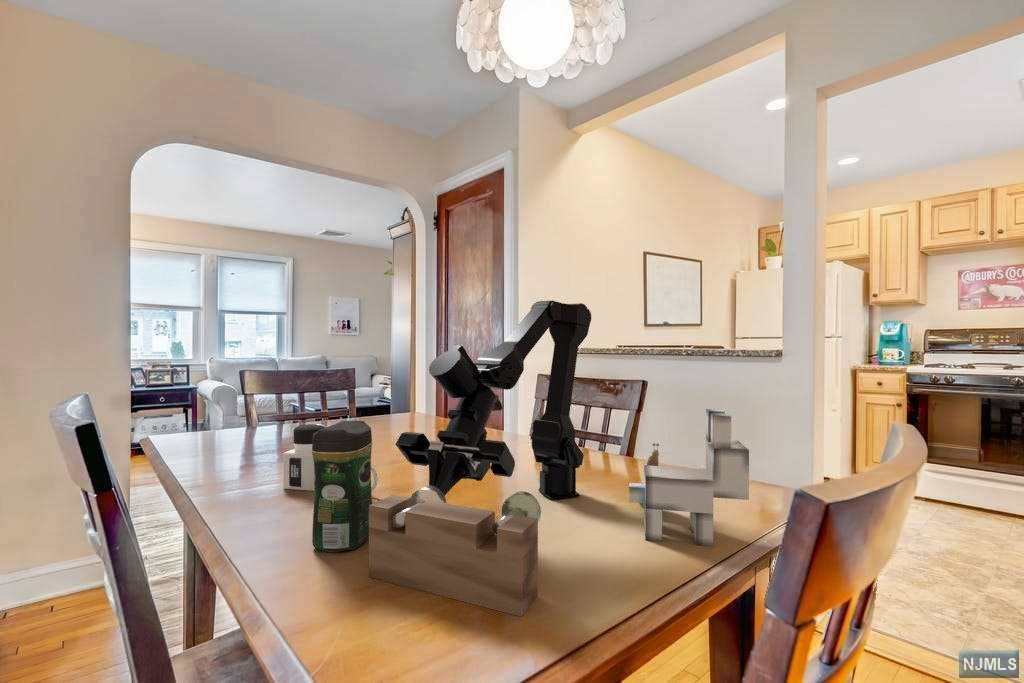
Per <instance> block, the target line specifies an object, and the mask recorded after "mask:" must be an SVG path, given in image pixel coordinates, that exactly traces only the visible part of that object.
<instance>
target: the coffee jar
mask: <svg viewBox="0 0 1024 683" xmlns="http://www.w3.org/2000/svg"><path fill="white" fill-rule="evenodd" d="M325 427H326V428H322V429H320V430H318V432H315V433H314V434H313V436H312V439H313V442H312V455H313V461H314V474H315V476H314V491H313V513H312V535H311V536H312V538H311V540H312V542H311V543H312V546H313V548H315V549H317V550H319V551H320V550H321V551H322V552H326V553H339V552H343V551H349V550H354V549H356V548H358V547H360V546H361V545H362V544H363V543H364V542H365V541H367V539H369V505H371V504H373V500H372V498H373V497H372V492H371V487H372V475H371V474H372V471H371V465H372V450H373V449H372V448H373V438H372V437H373V435H372V428H371V427H370V425H368V424H367V423H366V421H364V420H340V421H339V422H337V423H334V424H332V425H329V426H325Z"/></svg>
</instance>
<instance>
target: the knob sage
mask: <svg viewBox="0 0 1024 683" xmlns="http://www.w3.org/2000/svg"><path fill="white" fill-rule="evenodd" d="M514 515H520V516H526V517H532V518H538V523H539V522H540V520H541V515H542V509H541V505H540V502H539V501H538V499H537V498H536V497H535V496H534V495H533V494H531V493H529V492H528V491H518V492H517V491H516V492H515V493H513V494H512V495H510V496H509V497H507V498H506V499H505V500H504V502H502V506H501V518H500V519H498V520H497V521H495V524H494V525H493V531H494V533H495V534H496V535H497V528H498V527H500V526H501V525H502V524H504V523H505V522H506V521H507V520H509V519H510V518H511V517H513V516H514Z"/></svg>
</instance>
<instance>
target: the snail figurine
mask: <svg viewBox="0 0 1024 683" xmlns="http://www.w3.org/2000/svg"><path fill="white" fill-rule="evenodd" d="M651 444H652V447H655V446H656V447H657V449H655V448H654V449H653V450H652V451H651V455H649V457H648V458H647V462H646V465H650V466H659V455H660V452H659V451H658V450H659V448H658V447H659V446H660V444H659V443H658V442H657V443H655V442H653V443H651ZM638 504H639V505H640V507H641V508H642V509H643V510H644V503H638Z"/></svg>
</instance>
